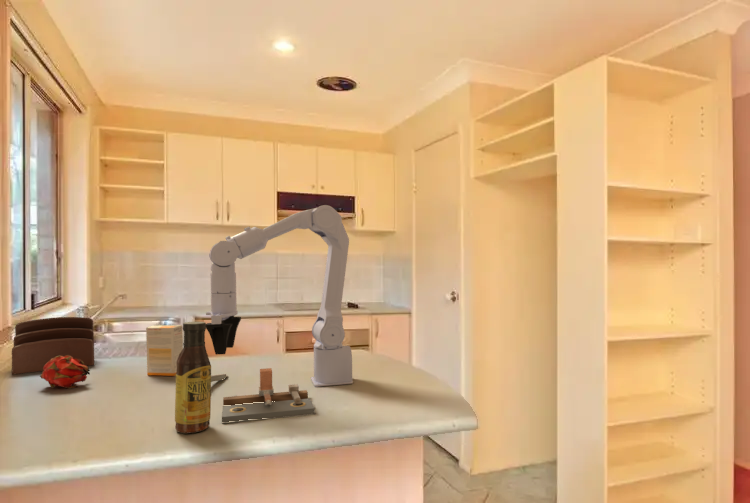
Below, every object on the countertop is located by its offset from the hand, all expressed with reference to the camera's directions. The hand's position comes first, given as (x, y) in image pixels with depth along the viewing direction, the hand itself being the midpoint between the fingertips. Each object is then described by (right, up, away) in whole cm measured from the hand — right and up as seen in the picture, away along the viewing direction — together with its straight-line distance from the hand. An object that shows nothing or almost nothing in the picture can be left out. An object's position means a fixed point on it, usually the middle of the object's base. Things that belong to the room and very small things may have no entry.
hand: (224, 350), depth 116 cm
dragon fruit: (-41, -11, +7) cm, 43 cm away
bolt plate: (+13, -10, -15) cm, 22 cm away
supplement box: (-22, -10, +19) cm, 31 cm away
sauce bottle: (+1, -10, -24) cm, 26 cm away
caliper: (-5, -10, +5) cm, 13 cm away
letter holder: (-58, -11, +29) cm, 66 cm away
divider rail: (+12, -10, -11) cm, 19 cm away
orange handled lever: (+12, -8, -11) cm, 18 cm away
